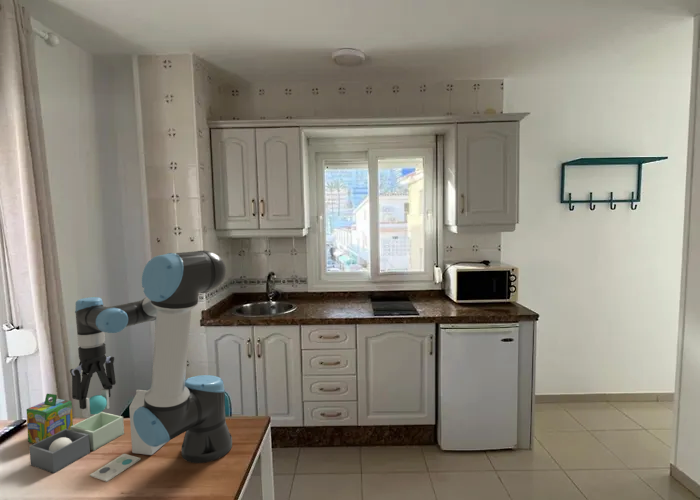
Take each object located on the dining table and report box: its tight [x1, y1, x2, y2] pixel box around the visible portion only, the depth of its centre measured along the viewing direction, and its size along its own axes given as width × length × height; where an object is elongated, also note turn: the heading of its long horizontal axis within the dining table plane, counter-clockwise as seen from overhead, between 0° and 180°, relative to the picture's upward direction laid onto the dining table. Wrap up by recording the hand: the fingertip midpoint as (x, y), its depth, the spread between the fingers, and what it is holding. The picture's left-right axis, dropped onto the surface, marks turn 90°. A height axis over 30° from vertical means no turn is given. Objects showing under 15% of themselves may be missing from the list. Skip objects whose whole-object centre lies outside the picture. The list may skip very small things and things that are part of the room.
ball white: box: [49, 437, 72, 452], centre depth 122 cm, size 6×6×6 cm
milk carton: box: [129, 389, 166, 456], centre depth 127 cm, size 7×7×19 cm
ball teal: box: [88, 394, 107, 415], centre depth 132 cm, size 6×6×6 cm
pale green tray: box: [70, 411, 125, 451], centre depth 133 cm, size 11×11×6 cm
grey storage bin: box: [28, 429, 91, 474], centre depth 122 cm, size 11×11×6 cm
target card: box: [89, 453, 141, 483], centre depth 118 cm, size 7×11×1 cm, turn 158°
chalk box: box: [26, 393, 74, 444], centre depth 134 cm, size 9×9×15 cm
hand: (96, 412), depth 133 cm, fingers closed on ball teal, 6 cm apart
